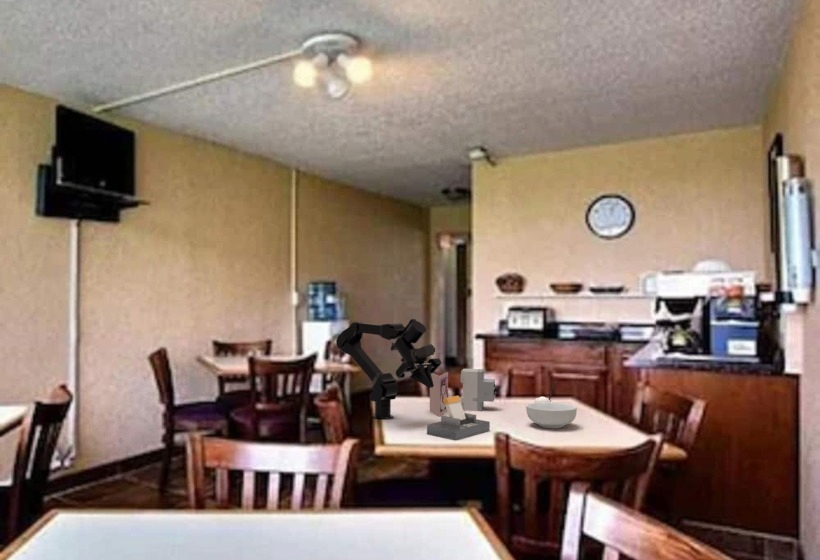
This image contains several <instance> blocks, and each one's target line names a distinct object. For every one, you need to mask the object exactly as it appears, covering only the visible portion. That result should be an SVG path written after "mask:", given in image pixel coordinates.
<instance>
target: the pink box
mask: <svg viewBox="0 0 820 560" xmlns="http://www.w3.org/2000/svg"><path fill="white" fill-rule="evenodd" d="M431 377H432V380H433V384H434V386H433V387H432V388H429V412H431V413H432V414H433V415H436V416H437V417H439V418H441V416H444V414H446V413H448V412H447V409H446V406H445V405H444V402H443V399H445V398H448V397H449V371H447V372H444V373H442V374H440V375H438V374H436V373H435V372H434V373H431Z"/></svg>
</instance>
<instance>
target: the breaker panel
mask: <svg viewBox="0 0 820 560" xmlns="http://www.w3.org/2000/svg"><path fill="white" fill-rule="evenodd" d="M464 414H465V417H466V421H462V422H460V419H458V418H453V417H449V416H447V415H446V416H445V415H441V416H440V421H437V422H433V423H428V424H426V435H430V436H433V437H439V438H445V439H449V440H454V441H457V440H461V439H465V438H468V437H472V436H475V435H479V434H483V433H485V432H489V431H491V430H490V427H491V423H490V421H487V420H482V419H477V414H474V413H473V414H472V413H468V412H464Z"/></svg>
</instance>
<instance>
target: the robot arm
mask: <svg viewBox="0 0 820 560" xmlns="http://www.w3.org/2000/svg"><path fill="white" fill-rule="evenodd" d="M426 332H427V328H426V326H425V325H424V323H421V322H420V321H419V320H416V318H411V319H410V320H409V322H408V323H407V325H406V326H404V324H403V323H401V322H397V323H395V322H394V323H384V324H383V323H382V324H381V323H380V324H379V323H373V322H372V323H371V322H364V321H353V322H352V323H351V324H350V326H348V327H347V328H346V329H344V330H343V331H342V332H341V333H340V334H338V336H337V338H336V340H335V343H336V347H337V348H338V349H339V350H340V351H341V352H342V353H344V354H347V355H349V356H350V357H351V358H352V359H353V360H354V361H355V363H356V364H357V365H358V367H360V368H361V370H362V371H363V372H364V374H365V375H366V376H367V377H368V378H369V380H370V381H371V386H372V389H373V390H372V391H371V392H370V393H369V400H370V401H371V402H374V413H372V414H371V415H372V417H374V419H379V420H380V419H381V420H382V419H394V416H393V415H392V414H391V413H392V412H391V406H392V405H391V403H392V400H396V398H397V394H398V391H399V383H398V382H397V379H396V378H395V377H394V376H393V374H392V373H390V372H388V373H384V372H382V370H381V369H380V368H379V367H378V366H377V365H376V363H375V362H374V361H373V360H372V359H371V358H370V356H369V355H368V354H367V353H366V352H365V351H364V349H363V348H362V341H361V340H362V339H363V337H364V334H368V335H377V336H379V337H381V338H383V339H385V340H387V341H391V340H393V341H394V340H395V341H394V342H391V347H390V351H397V352H398V354H399V355H400V356H401V359H400V361H401V364H400V365H399V366H398V367H397V369H396V370H395V376H396V377H397V378H398V379H404V378H405V376H406V374H405V373H410V376H409V378H410V379H412V380H414V381H417V382H418V383H420V384H421V385H424V386H426V387H427V388H429V389H430V388H432V387H433V386H434V384H433V380H432V377H431V373H434V374H435V373H436V370H438V368H439V367H440V366H441V365H442V363H443V362H442V360H441V359H440V358H439V357H433V358H430V359H428V358H429V357H430V356H433V355H435V352H436V347H435V346H434V345H433V344H432V343H429V344H428V345H423V346H421V347H419V348H417V347H415V345H414V344H417V343H418V342H419V341H420V339H422V337H423V335H424V334H425V333H426ZM427 360H428V361H427Z"/></svg>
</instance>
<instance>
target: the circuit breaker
mask: <svg viewBox="0 0 820 560" xmlns="http://www.w3.org/2000/svg"><path fill="white" fill-rule="evenodd" d="M484 371H485V370H484V368H463V369H462V370H461V372H460V383H461V384H462V395H461V397H460V403H461V405H462V408H463V411H469V412H470V411H473V412H482V411H483V409H484V404H485V403H484V402H486V403H487V402H488V403H489V402H492V403H493V402H495V401H494V400H495V399H496V393H498V392H499V391H500V388H499V387H496V379H495V378H485V375H484V373H485V372H484Z"/></svg>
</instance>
